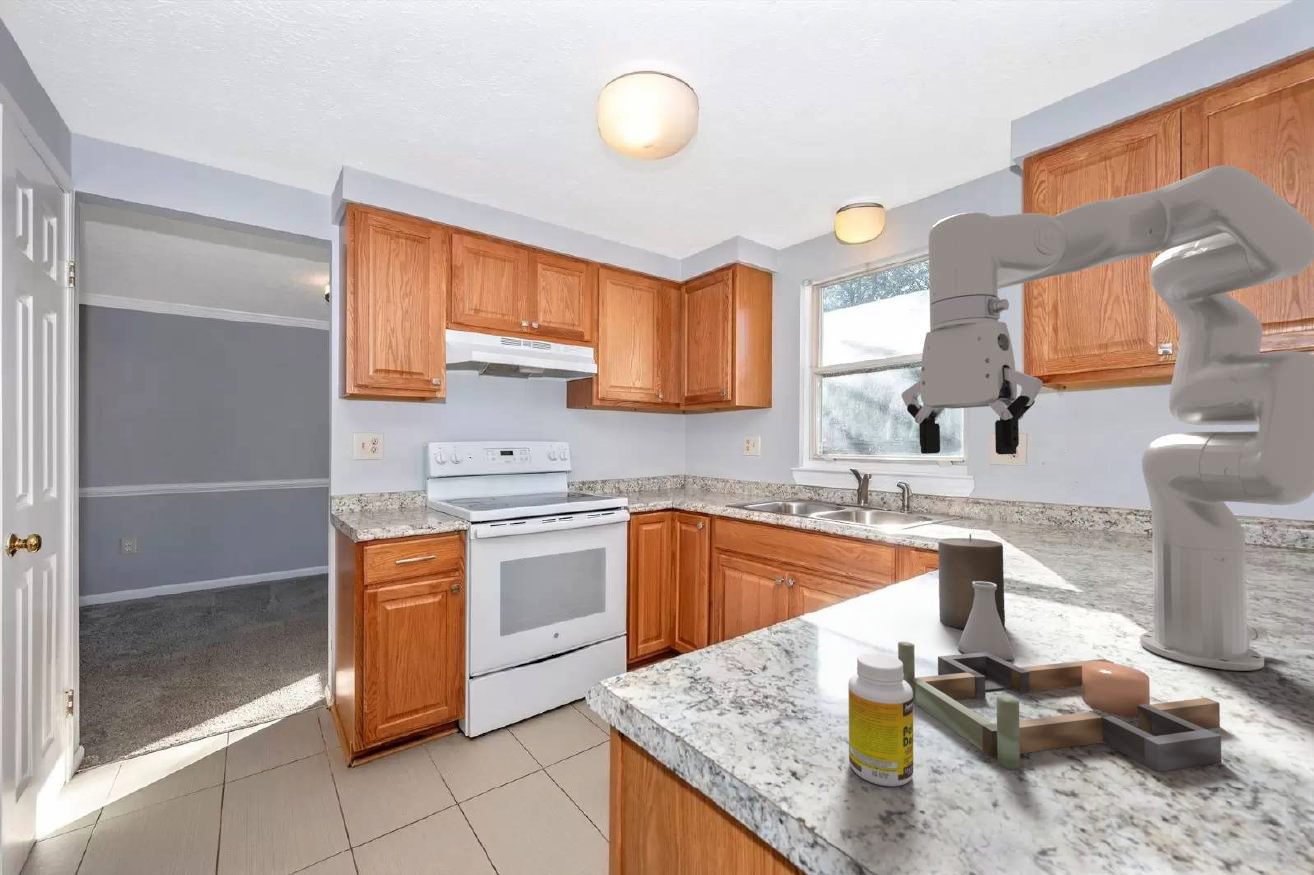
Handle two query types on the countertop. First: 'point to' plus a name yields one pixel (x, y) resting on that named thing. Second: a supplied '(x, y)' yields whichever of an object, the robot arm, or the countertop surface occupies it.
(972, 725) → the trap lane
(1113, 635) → the countertop surface
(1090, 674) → the short salmon cylinder
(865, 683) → the supplement bottle
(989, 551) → the pillar candle
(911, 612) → the countertop surface
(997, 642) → the flask
